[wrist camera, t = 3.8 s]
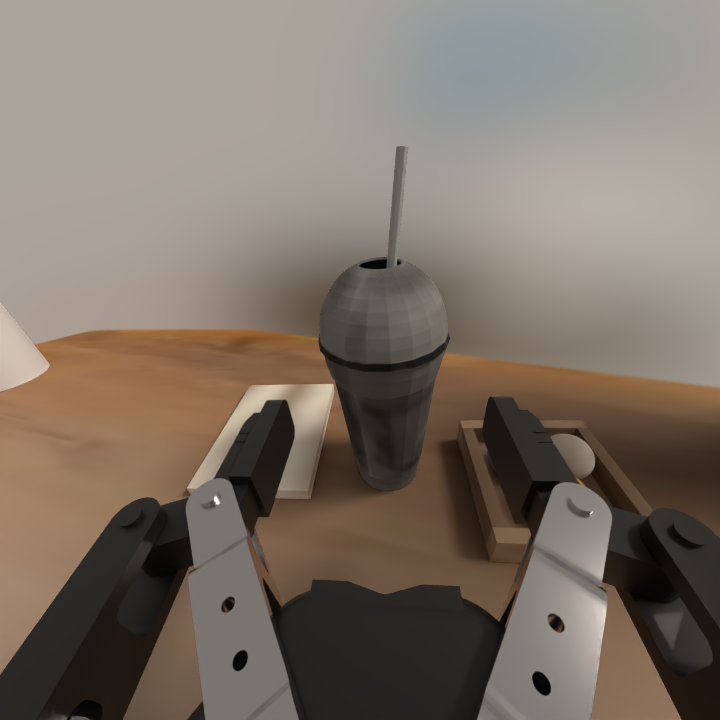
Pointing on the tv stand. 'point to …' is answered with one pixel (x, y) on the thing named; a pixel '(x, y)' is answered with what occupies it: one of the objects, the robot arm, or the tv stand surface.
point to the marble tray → (496, 502)
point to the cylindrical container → (17, 354)
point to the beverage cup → (385, 353)
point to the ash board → (310, 428)
